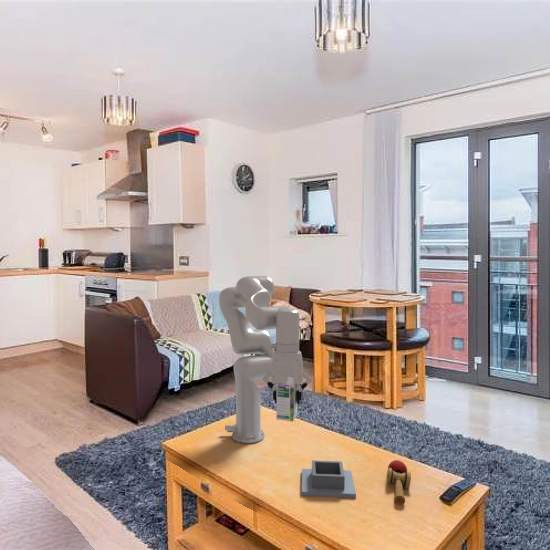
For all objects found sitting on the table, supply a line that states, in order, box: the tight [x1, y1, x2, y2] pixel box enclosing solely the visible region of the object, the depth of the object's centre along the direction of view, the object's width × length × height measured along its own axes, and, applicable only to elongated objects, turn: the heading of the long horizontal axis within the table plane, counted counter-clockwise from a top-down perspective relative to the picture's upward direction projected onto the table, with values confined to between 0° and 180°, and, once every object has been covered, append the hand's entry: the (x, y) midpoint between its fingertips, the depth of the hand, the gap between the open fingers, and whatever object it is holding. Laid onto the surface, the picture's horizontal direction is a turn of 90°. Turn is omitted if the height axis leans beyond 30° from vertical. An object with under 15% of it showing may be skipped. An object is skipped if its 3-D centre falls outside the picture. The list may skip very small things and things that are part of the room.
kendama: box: [385, 459, 412, 506], centre depth 138 cm, size 8×6×18 cm
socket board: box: [301, 459, 357, 499], centre depth 140 cm, size 16×14×5 cm
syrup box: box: [275, 377, 298, 422], centre depth 145 cm, size 6×6×14 cm
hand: (287, 401), depth 146 cm, fingers closed on syrup box, 6 cm apart
